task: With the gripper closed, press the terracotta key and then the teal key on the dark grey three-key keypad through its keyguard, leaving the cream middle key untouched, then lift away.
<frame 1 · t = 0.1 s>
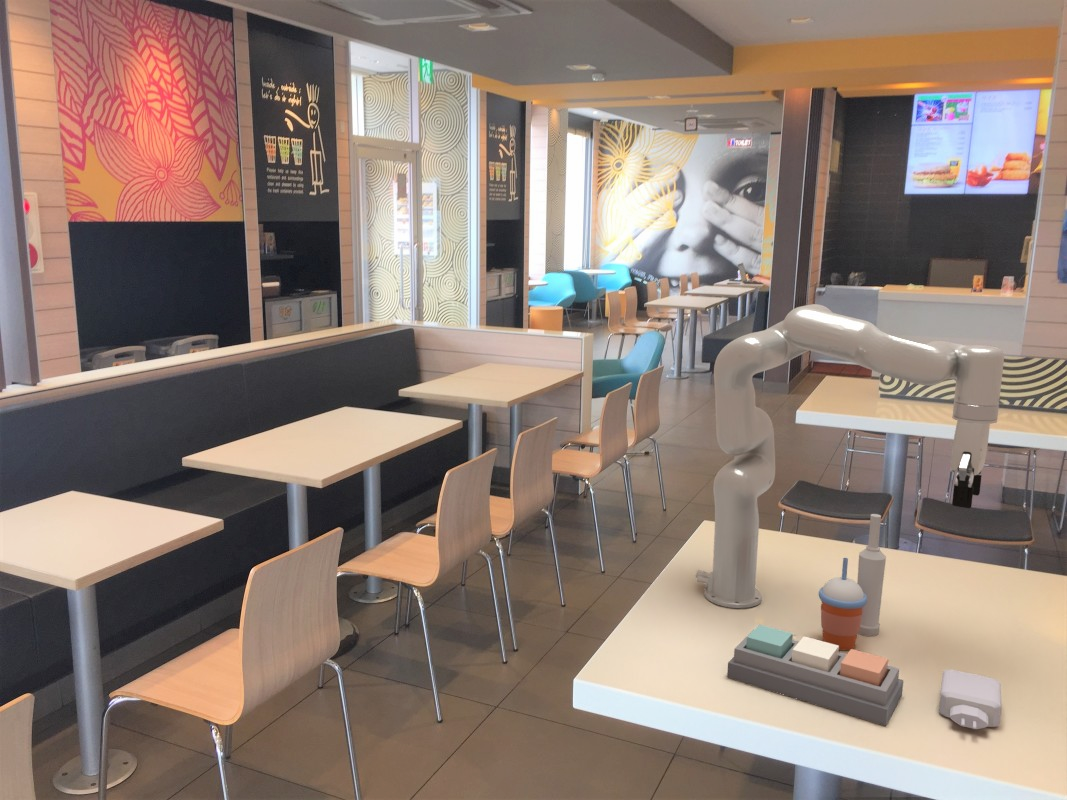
hand: (965, 500, 167), 31 cm above the table, tool pointing down, fingers open, 9 cm apart
charger: (968, 719, 150), on the table
cup with straw: (838, 644, 176), on the table
bottle: (865, 631, 182), on the table
teal key: (769, 642, 163), point 6 cm above the table, slide at 0.0 cm
keypad: (813, 686, 159), on the table
terracotta key: (864, 668, 154), point 6 cm above the table, slide at 0.0 cm
cream key: (815, 655, 158), point 6 cm above the table, slide at 0.0 cm
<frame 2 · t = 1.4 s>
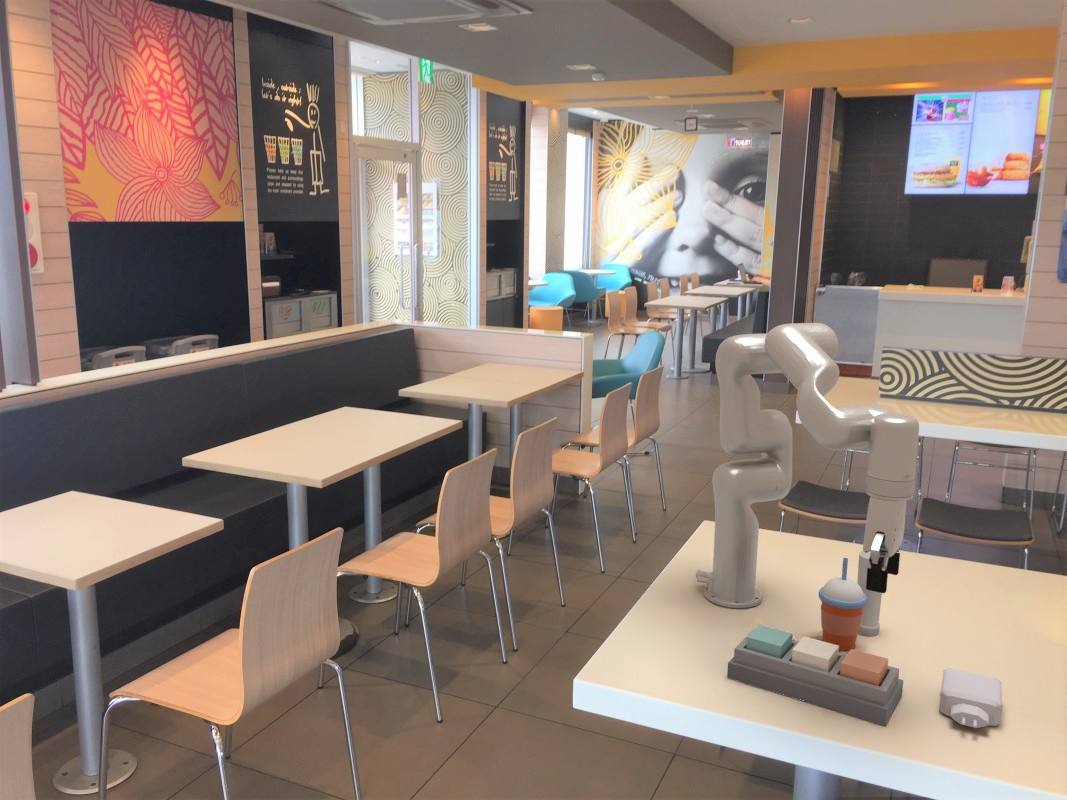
hand: (882, 581, 152), 22 cm above the table, tool pointing down, fingers open, 9 cm apart
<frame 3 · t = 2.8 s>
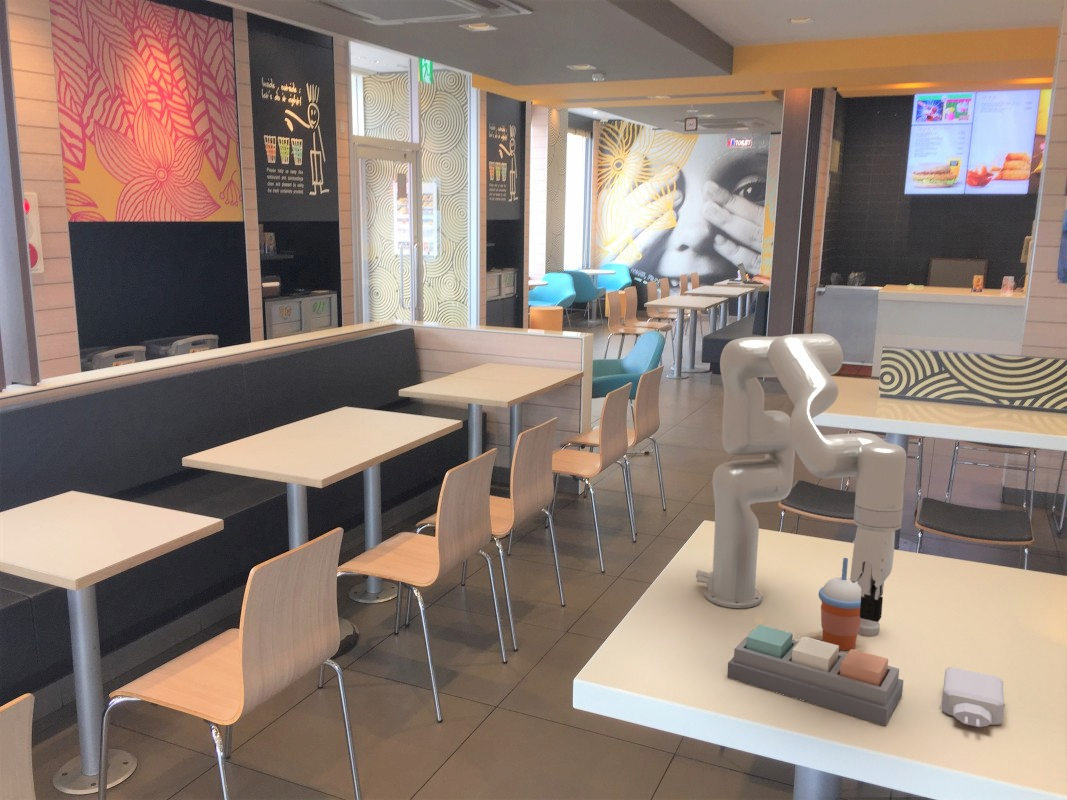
hand: (870, 618, 151), 16 cm above the table, tool pointing down, fingers closed
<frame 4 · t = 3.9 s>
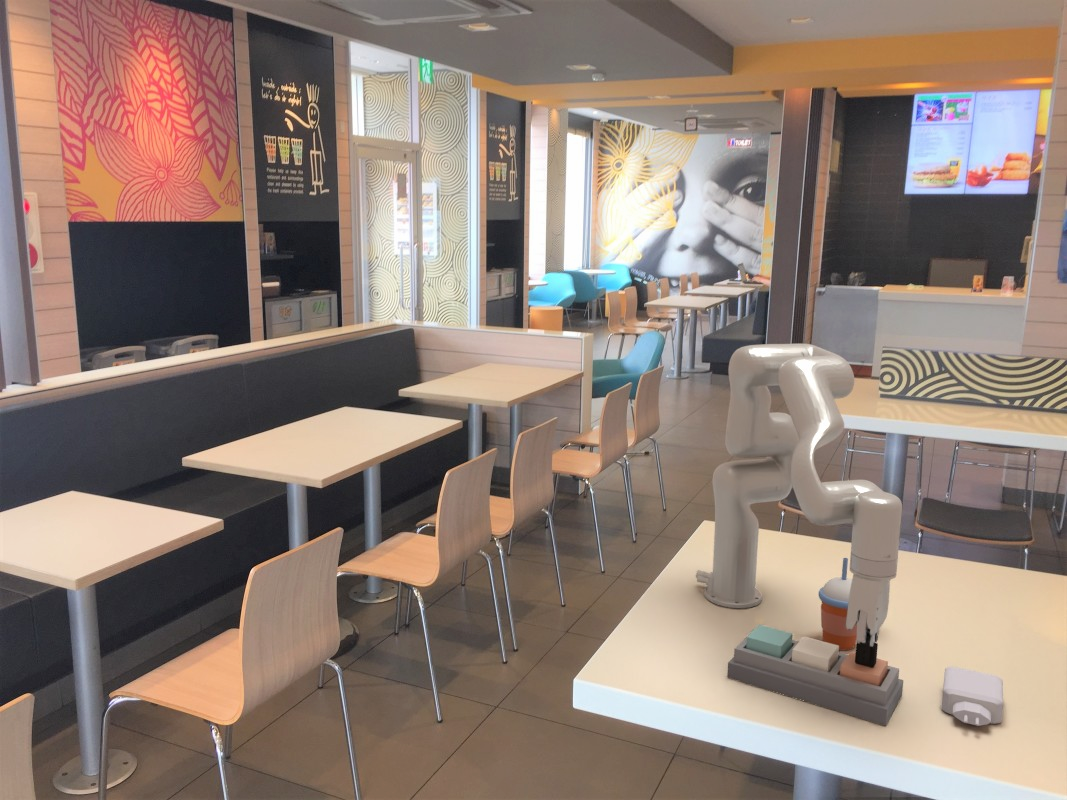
hand: (865, 663, 153), 7 cm above the table, tool pointing down, fingers closed
terracotta key: (863, 671, 154), point 6 cm above the table, slide at 0.5 cm, touching gripper
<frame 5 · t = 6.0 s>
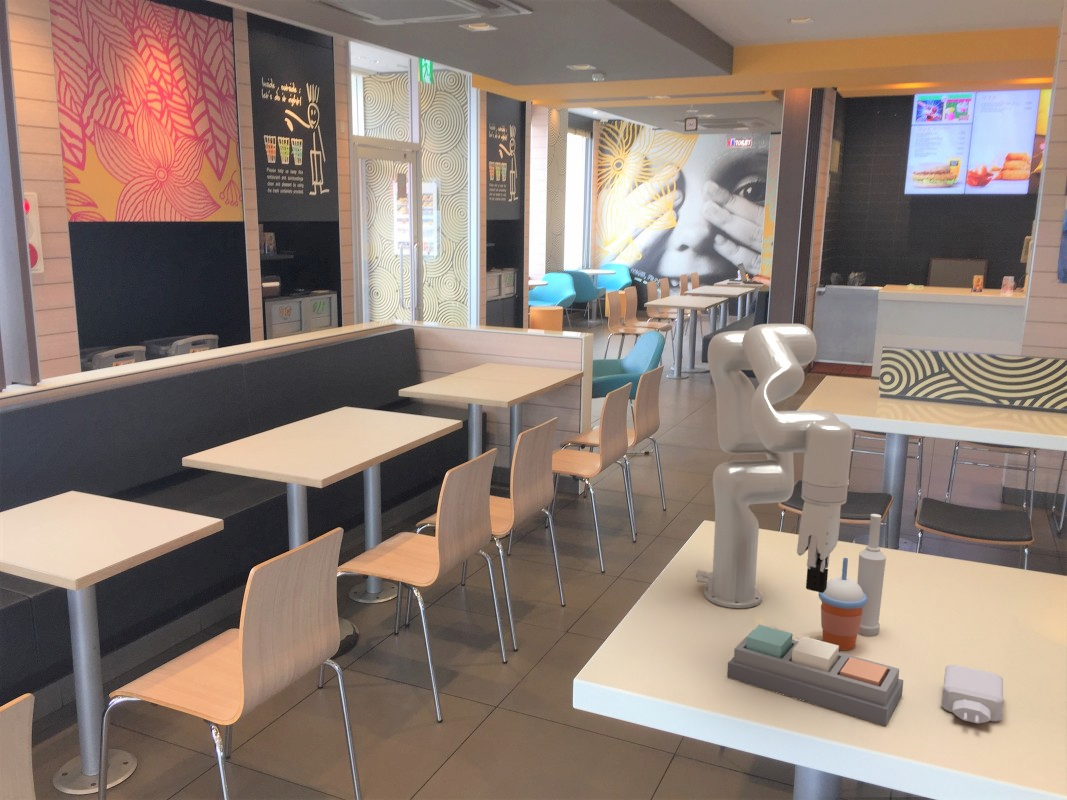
hand: (816, 589, 157), 18 cm above the table, tool pointing down, fingers closed
terracotta key: (863, 677, 154), point 4 cm above the table, slide at 1.6 cm, touching keypad
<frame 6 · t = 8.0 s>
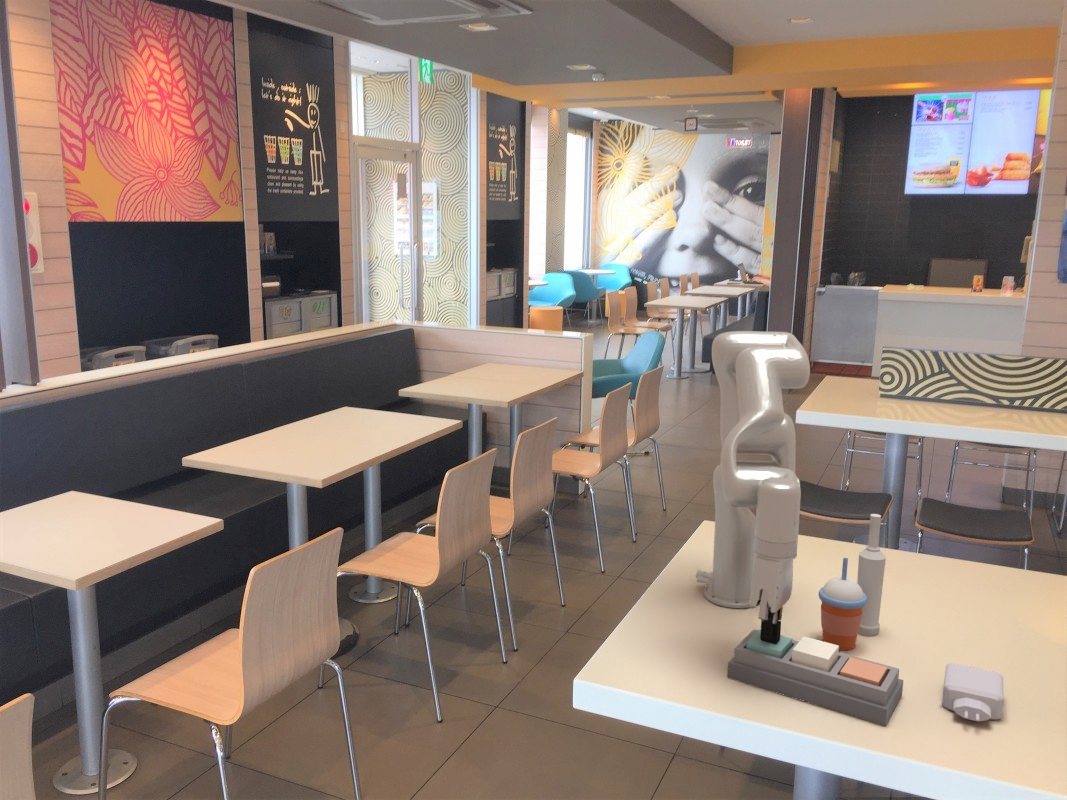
hand: (770, 640, 163), 7 cm above the table, tool pointing down, fingers closed
teal key: (769, 647, 163), point 5 cm above the table, slide at 1.0 cm, touching gripper
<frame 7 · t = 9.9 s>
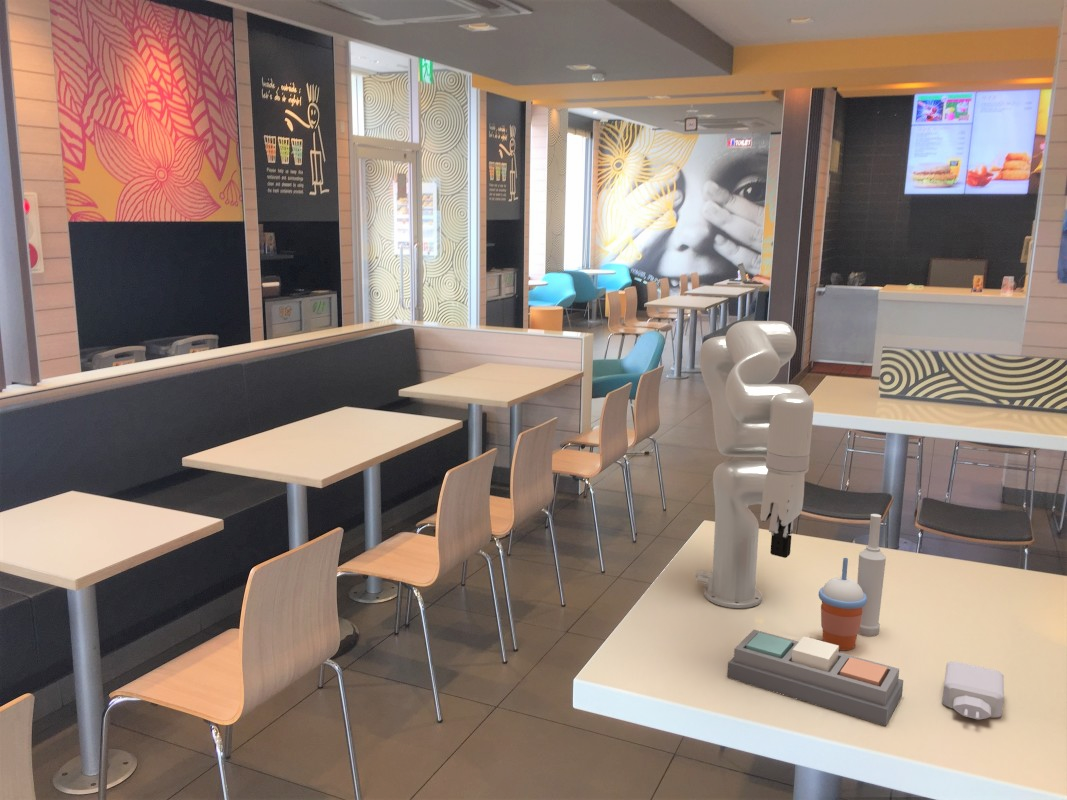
hand: (780, 554, 164), 22 cm above the table, tool pointing down, fingers closed
teal key: (768, 650, 163), point 4 cm above the table, slide at 1.6 cm, touching keypad
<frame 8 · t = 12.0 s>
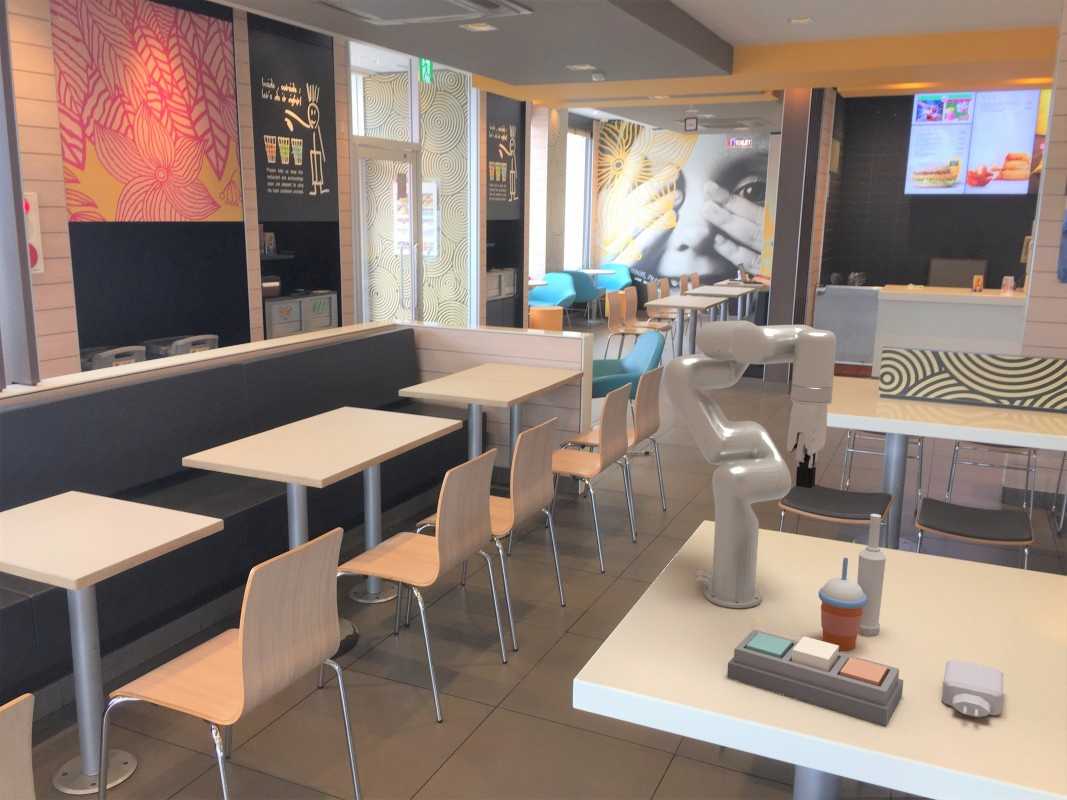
hand: (805, 486, 172), 32 cm above the table, tool pointing down, fingers closed
at the end: terracotta key slide at 1.6 cm; teal key slide at 1.6 cm; cream key slide at 0.0 cm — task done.
